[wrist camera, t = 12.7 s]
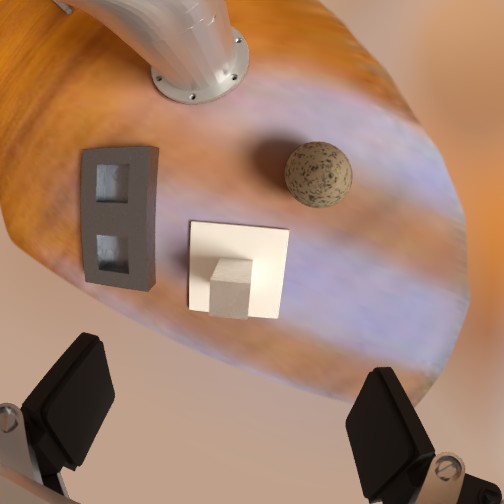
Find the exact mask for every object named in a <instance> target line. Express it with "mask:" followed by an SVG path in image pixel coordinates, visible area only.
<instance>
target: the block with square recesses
mask: <svg viewBox="0 0 504 504" xmlns="http://www.w3.org/2000/svg"><path fill="white" fill-rule="evenodd" d="M158 157H159V148H156V147H151V146H139V147H113V148H97V149H84V150H83V155H82V172H81V232H82V250H83V262H84V273H85V282H89V283H95V284H101V285H107V286H113V287H119V288H126V289H132V290H139V291H145V292H148V291H149V290H150V289H151V288H152V287H153V286H154V285H155V284H156V278H155V212H156V187H157V170H158Z"/></svg>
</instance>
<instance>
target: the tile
mask: <svg viewBox="0 0 504 504" xmlns="http://www.w3.org/2000/svg"><path fill="white" fill-rule="evenodd" d="M288 237H289V229H279V228H268V227H258V226H247V225H236V224H224V223H213V222H200V221H191V239H190V278H189V310H197V311H205V312H209V296H210V279H211V277H212V275H213V273H214V271H215V268H216V266H217V264H218V262H219V260H220V258H221V257H227V258H238V259H248V260H253V266H252V277H251V288H250V298H249V309H248V316H253V317H265V318H277V319H278V313H279V306H280V299H281V292H282V284H283V277H284V269H285V261H286V253H287V245H288Z"/></svg>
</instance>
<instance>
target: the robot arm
mask: <svg viewBox="0 0 504 504" xmlns="http://www.w3.org/2000/svg"><path fill="white" fill-rule="evenodd" d="M55 1H58V2H61V3H65V4H68V5H71V6H73V7H76V8H78V9H80V10H82V11H84V12H86V13H87V14H89V15H91V16H92V17H94V18H95V19H97V20H98V21H100V22H101V23H102V24H104V25H105V26H106V27H107V28H109V29H110V30H111V31H112V32H113V33H115V34H116V35H117V36H118V37H119V38H120V39H122V40H123V41H124V42H125V43H126V44H127V45H129V46H130V47H131V48H132V49H133V50H134V51H135V52H137V53H138V54H139V55H140V56H141V57H142V58H143V59H144V60H146V61H147V62H148V63H149V64H150V65H151V74H152V78H153V81H154V83H155V85H156V86H157V88H158V89H159V90H160V91H161V92H162V93H163V94H164V95H165V96H167V97H168V98H170V99H172V100H174V101H177V102H180V103H184V104H202V103H207V102H211V101H214V100H217V99H219V98H221V97H223V96H225V95H226V94H228V93H229V92H231V91H232V90H233V89H234V88H235V87H236V86H237V85H238V84H239V83H240V82H241V80H242V79H243V78H244V76H245V74H246V72H247V69H248V65H249V48H248V45H247V42H246V40H245V38H244V37H243V35H242V34H241V33H240V32H239V31H238V30H237V29H235V28H234V27H232V26H231V24H230V20H229V15H228V11H227V6H226V2H225V0H55ZM238 42H241V43H238ZM233 78H237V79H236V80H233ZM160 79H162V80H161V81H160ZM193 97H196V98H195V99H194V100H192V98H193ZM114 398H115V392H114V388H113V385H112V380H111V377H110V373H109V368H108V364H107V359H106V355H105V350H104V345H103V342H102V341H100V340H99V337H98V336H96V335H92V334H89V333H85V332H83V333H81V334H80V335H79V336H78V338H77V339H76V340H75V341H74V342H73V343H72V344H71V345H70V347H69V348H68V349H67V350H66V351H65V352H64V354H63V355H62V356H61V357H60V358H59V359H58V361H57V362H56V363H55V364H54V365H53V366H52V368H51V369H50V370H49V371H48V372H47V374H46V375H45V376H44V377H43V379H42V380H41V381H40V382H39V383H38V385H37V386H36V387H35V388H34V390H33V391H32V392H31V394H30V395H29V396H28V397H27V399H26V400H25V401H24V403H23V404H22V407H21V409H19V408H18V407H17V406H16V405H14V404H11V403H2V404H0V504H79V503H77V502H75V501H73V500H71V499H70V498H69V495H68V493H67V490H66V487H65V485H64V482H63V479H62V476H61V473H60V471H61V469H62V467H63V466H64V467H66V468H68V469H71V470H73V471H75V469H76V467H77V466H81V465H82V463H83V461H84V459H85V457H86V455H87V453H88V451H89V449H90V447H91V445H92V443H93V441H94V438H95V437H96V434H97V433H98V431H99V429H100V427H101V425H102V422H103V421H104V419H105V417H106V415H107V413H108V411H109V409H110V407H111V405H112V403H113V401H114ZM346 430H347V434H348V437H349V441H350V445H351V448H352V452H353V456H354V459H355V463H356V467H357V471H358V475H359V478H360V483H361V487H362V491H363V495H364V497H365V498H368V500H369V504H372V503H376V502H381V501H382V502H383V504H504V499H503V500H502V494H501V491H500V489H499V487H498V486H497V485H495V484H493V483H491V482H488V481H485V480H482V479H480V478H477V477H474V476H471V475H469V474H466V473H465V465H464V462H463V461H462V459H461V458H460V457H459V456H457V455H456V454H454V453H450V452H443V453H440V454H438V455H437V456H436V455H435V449H434V447H433V445H432V443H431V441H430V439H429V437H428V435H427V433H426V431H425V429H424V427H423V425H422V423H421V421H420V419H419V417H418V415H417V413H416V412H415V410H414V408H413V406H412V404H411V402H410V400H409V398H408V396H407V395H406V393H405V391H404V389H403V387H402V385H401V384H400V382H399V380H398V378H397V376H396V375H395V373H394V371H393V369H392V368H391V367H377V368H375V369H374V370H373V371H372V372H369V374H368V376H367V378H366V380H365V382H364V385H363V387H362V389H361V391H360V393H359V395H358V397H357V399H356V401H355V403H354V405H353V407H352V409H351V411H350V413H349V415H348V417H347V419H346Z"/></svg>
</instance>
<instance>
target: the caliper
mask: <svg viewBox="0 0 504 504" xmlns="http://www.w3.org/2000/svg"><path fill="white" fill-rule="evenodd" d="M53 1H54V2H55V3H56V4H57V5H59V6H60V7H61V8H62V9H63V10H64V11H65V12H66V13H67V14H68V15H70V14H71V13H72V12H73V10H72V9H71V8H70V7H69V6H68V5H67V4H65V3H61V2H58V1H55V0H53Z"/></svg>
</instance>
